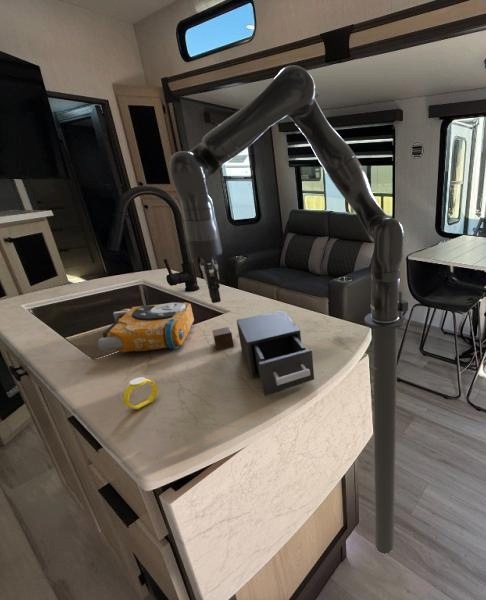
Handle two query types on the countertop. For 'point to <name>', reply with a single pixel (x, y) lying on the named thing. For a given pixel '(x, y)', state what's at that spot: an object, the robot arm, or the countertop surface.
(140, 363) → the countertop surface
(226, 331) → the block
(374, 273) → the robot arm
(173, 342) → the device
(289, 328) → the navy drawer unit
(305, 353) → the open drawer cabinet
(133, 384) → the watch
